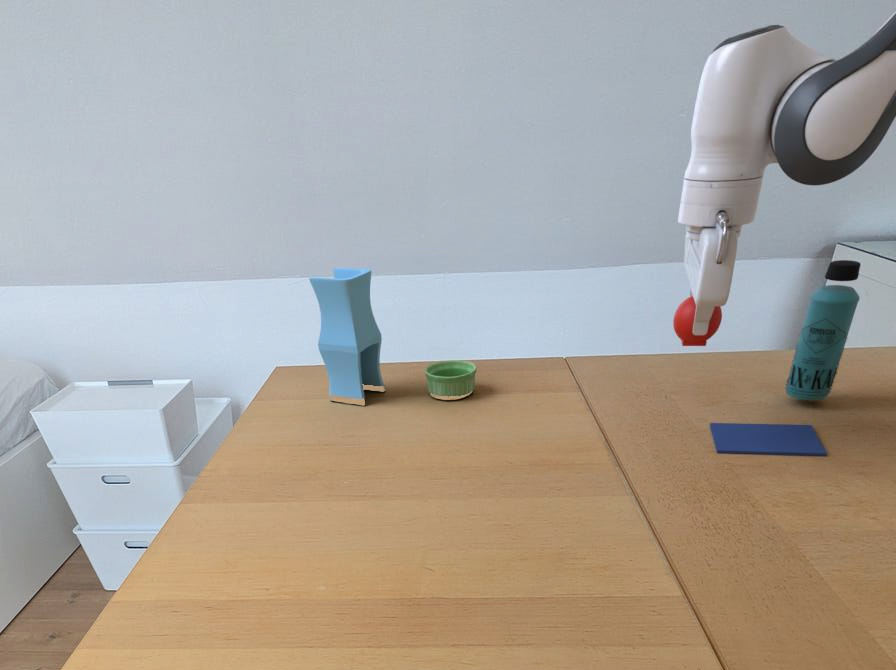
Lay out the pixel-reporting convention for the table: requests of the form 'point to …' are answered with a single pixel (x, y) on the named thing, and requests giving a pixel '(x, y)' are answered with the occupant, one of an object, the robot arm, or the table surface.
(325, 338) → the vase
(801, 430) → the cloth
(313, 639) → the table surface
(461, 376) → the ramekin
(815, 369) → the beverage bottle
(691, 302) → the red ball with base
